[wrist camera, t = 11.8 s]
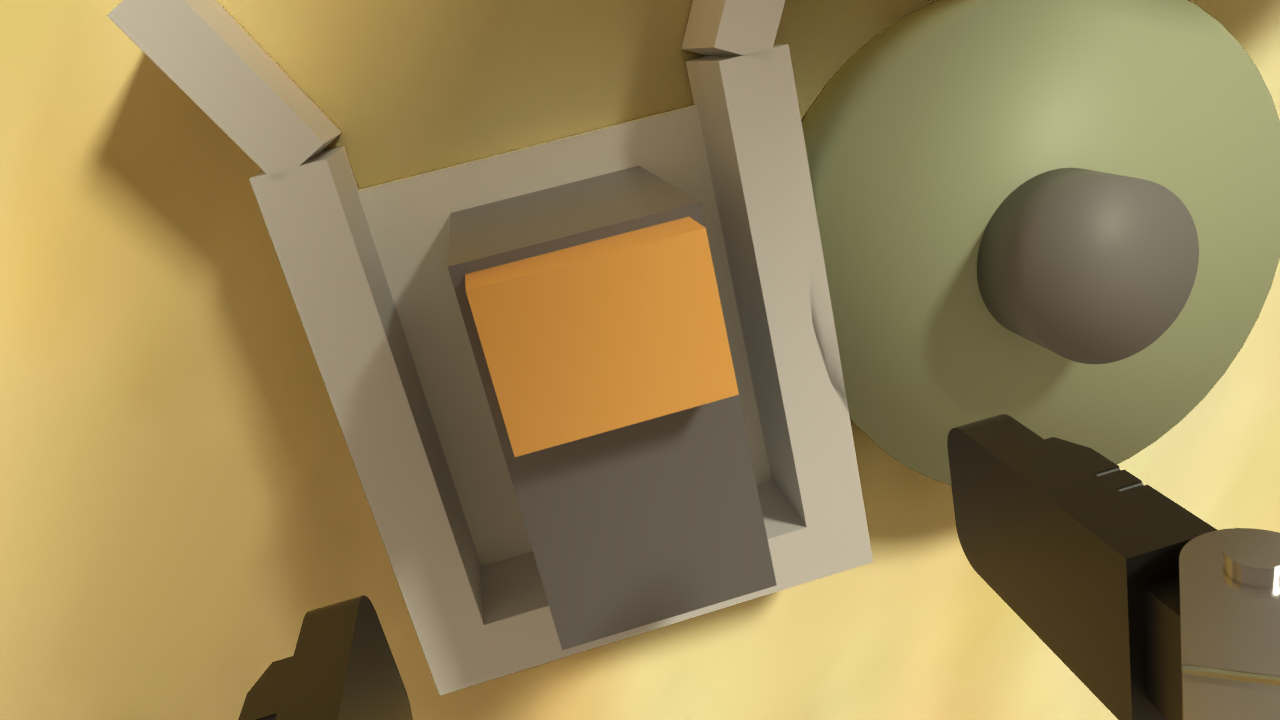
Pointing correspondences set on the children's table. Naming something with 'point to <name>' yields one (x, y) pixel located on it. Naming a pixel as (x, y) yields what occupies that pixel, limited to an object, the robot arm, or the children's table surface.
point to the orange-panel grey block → (613, 398)
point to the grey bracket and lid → (796, 266)
